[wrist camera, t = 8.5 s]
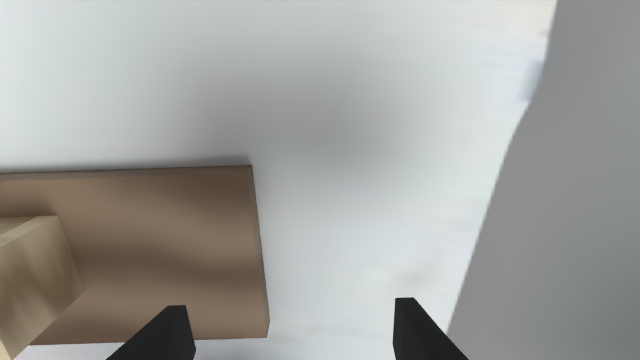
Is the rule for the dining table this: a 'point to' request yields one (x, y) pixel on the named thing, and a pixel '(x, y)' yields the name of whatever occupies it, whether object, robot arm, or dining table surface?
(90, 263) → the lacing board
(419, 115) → the dining table surface
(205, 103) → the dining table surface
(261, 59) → the dining table surface
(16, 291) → the open-ended tan box
